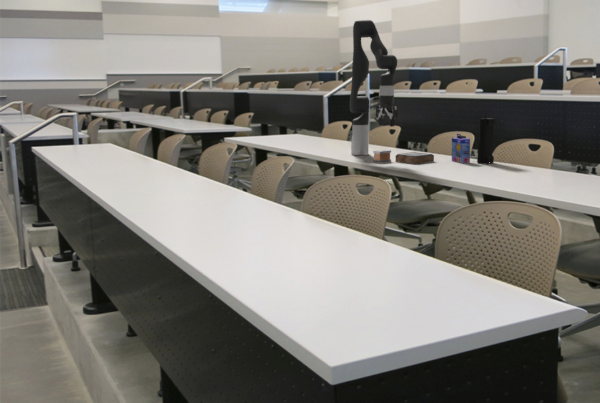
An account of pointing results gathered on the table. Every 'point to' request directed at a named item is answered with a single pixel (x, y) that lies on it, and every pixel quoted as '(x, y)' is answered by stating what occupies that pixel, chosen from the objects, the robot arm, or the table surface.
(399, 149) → the table surface
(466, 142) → the ink cartridge box
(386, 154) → the housing
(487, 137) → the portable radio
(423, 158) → the walnut stand
